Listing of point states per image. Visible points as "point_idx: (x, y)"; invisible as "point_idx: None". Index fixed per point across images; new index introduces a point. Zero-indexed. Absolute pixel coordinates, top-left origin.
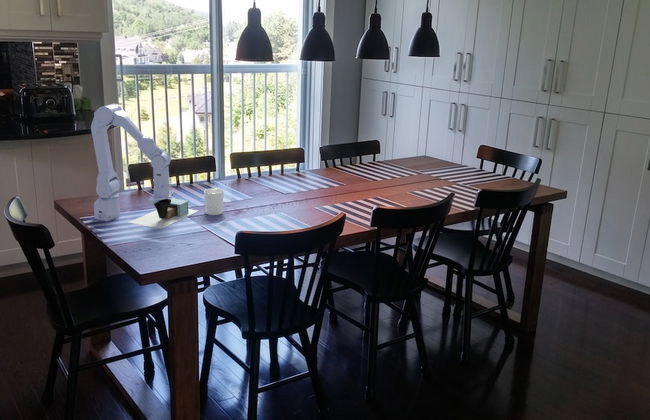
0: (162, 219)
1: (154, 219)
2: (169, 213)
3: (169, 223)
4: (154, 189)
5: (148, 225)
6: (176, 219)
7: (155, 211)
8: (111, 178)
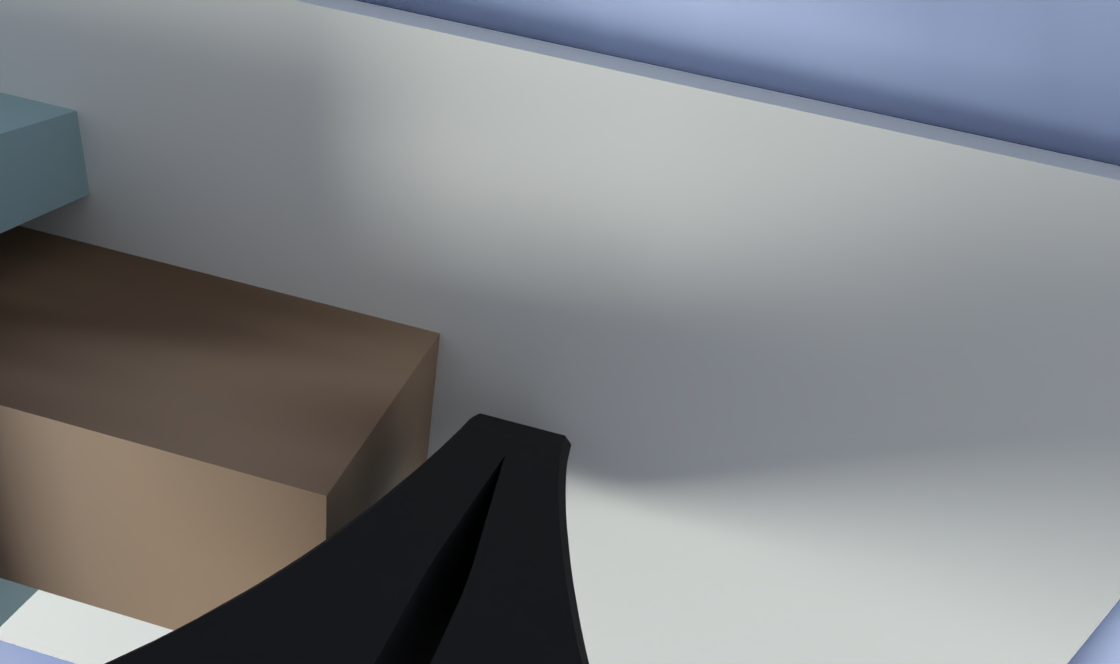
0: None
1: None
2: (288, 399)
3: (754, 181)
4: None
5: (1036, 616)
6: (328, 117)
7: None
8: None
